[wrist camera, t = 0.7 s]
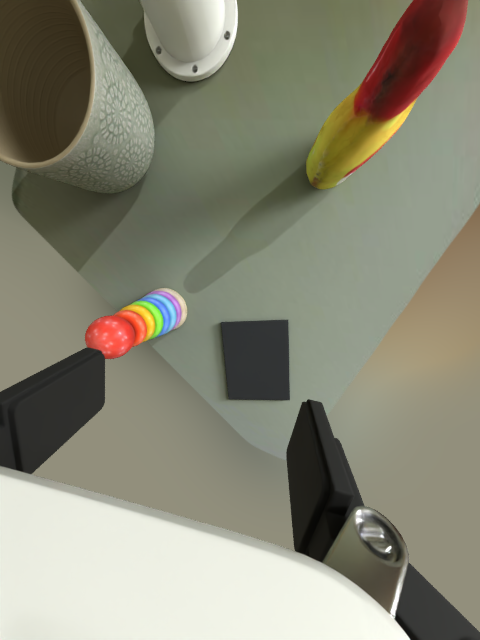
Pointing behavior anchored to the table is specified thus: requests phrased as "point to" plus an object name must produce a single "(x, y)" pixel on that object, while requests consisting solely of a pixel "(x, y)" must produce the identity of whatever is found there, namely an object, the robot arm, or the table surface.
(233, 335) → the flat black rectangular pad
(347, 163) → the bottle
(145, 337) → the stacking toy
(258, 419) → the table surface
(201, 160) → the table surface
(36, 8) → the planter
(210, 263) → the table surface
